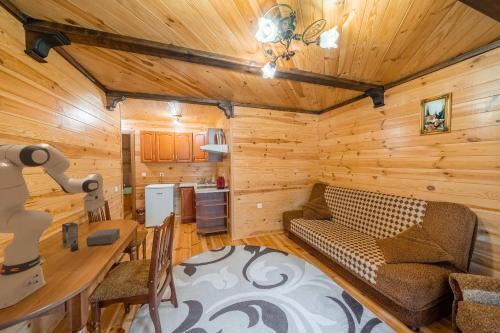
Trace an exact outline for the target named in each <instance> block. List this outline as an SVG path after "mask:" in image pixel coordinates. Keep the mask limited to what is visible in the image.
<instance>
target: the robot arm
mask: <svg viewBox="0 0 500 333" xmlns="http://www.w3.org/2000/svg"><path fill="white" fill-rule="evenodd" d="M36 167H37V168H38V167H42V168H43V169H45V172H46V174H47V175H48V176H49V177H50V178H51V179H53V180H54V181H55V183H57V184H58V185H59V186H60V188H61V190H62V191H63V192H64V193H66V194H85V196H83V201H84V202H83V208H84V211H85V212H92V215H93V216H96V215H98V214H99V210H100V208H101V207H103V206H105V204H106V201H105V200H106V199H105V196H104V189H103V186H104V178H103V175H102V174H101V173H95V172H94V173H93V172H91V173H88V175H87V176H86V177H84V178H72V177H69V176H68V175H67V174H66V173H65V172H67V171H68V170H69V168H70V167H71V161H70V159H69V158H68V157H67V156H66V155H64V154H63V153H62V152H61V151H59V150H58V149H57V148H55V147H53V146H52V145H50V144H48V143H44V142H43V143H42V142H40V143H37V144H34V145H33V144H32V145H27V144H25V145H24V144H21V143H20V144H19V143H18V144H17V143H16V144H15V143H14V144H1V145H0V234H13V238H12V240H11V242H9V243H8V244H6V245H5V247H4V248H3V264H2V266H1V267H0V310H1V309H5V308H8V307H11V306H13V305H16V304H17V303H19V302H21V301H22V300H24V299H25V298H28V296H30V295H32V294H34V293H35V292H36V291H38V290H39V289H41V288H42V287H45V285H47V281H46V280H45V278H44V277H45V276H44V273H43V271H44V270H43V268H42V266H41V264H40V265H39V263H40V255H39V253H40V251H39V249H40V248H39V245H40V239H41V237H42V234H43V233H44V232H45V231H46V230H47V229H49V228H50V227H51V225H52V224H53V221H54V220H53V218H54V217H53V216H52V214H51V213H50V212H48V211H43V210H35V209H34V210H30V209H26V208H25V203H26V202H27V201H29V199H30V197H31V194H30V191H29V189H28V186H27V182H26V181H25V180H26V179H25V177H24V176H23V170H24V168H36Z"/></svg>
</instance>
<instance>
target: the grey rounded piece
mask: <svg viewBox="0 0 500 333" xmlns="http://www.w3.org/2000/svg"><path fill="white" fill-rule="evenodd" d="M69 248H70V252H71V253H72V252H73V253H74V252H77V251H78V250H79V243H78V244H72V245H70V247H69Z"/></svg>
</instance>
